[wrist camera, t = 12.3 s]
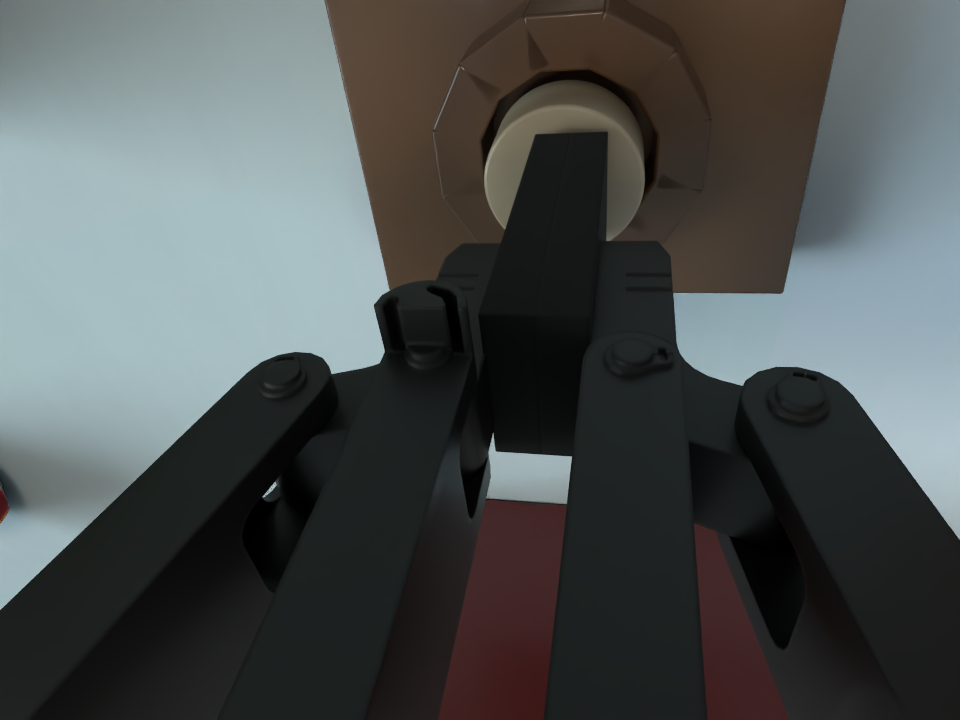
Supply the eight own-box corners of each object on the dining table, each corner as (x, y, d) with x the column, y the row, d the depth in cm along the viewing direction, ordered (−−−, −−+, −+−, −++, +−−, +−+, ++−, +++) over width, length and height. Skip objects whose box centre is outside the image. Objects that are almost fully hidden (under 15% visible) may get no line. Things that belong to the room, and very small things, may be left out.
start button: (648, 73, 15) (649, 100, 13) (640, 220, 17) (640, 256, 16) (488, 82, 16) (475, 108, 14) (501, 222, 18) (490, 256, 16)
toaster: (820, 522, 28) (890, 788, 21) (772, 661, 36) (810, 894, 28) (413, 493, 32) (344, 711, 24) (447, 625, 39) (403, 823, 32)
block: (848, -139, 15) (904, -124, 12) (771, 255, 21) (795, 332, 18) (338, -83, 17) (276, -58, 14) (406, 256, 23) (372, 324, 20)
